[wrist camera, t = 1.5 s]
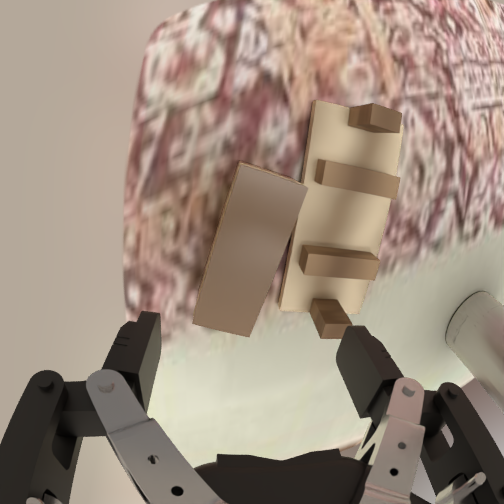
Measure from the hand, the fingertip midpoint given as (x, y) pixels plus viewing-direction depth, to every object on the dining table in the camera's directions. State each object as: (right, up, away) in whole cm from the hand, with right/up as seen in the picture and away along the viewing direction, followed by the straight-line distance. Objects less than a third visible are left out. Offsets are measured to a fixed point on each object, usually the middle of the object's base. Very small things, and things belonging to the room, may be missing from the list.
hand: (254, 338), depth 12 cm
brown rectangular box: (-1, +5, +13) cm, 14 cm away
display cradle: (+7, +7, +12) cm, 16 cm away
